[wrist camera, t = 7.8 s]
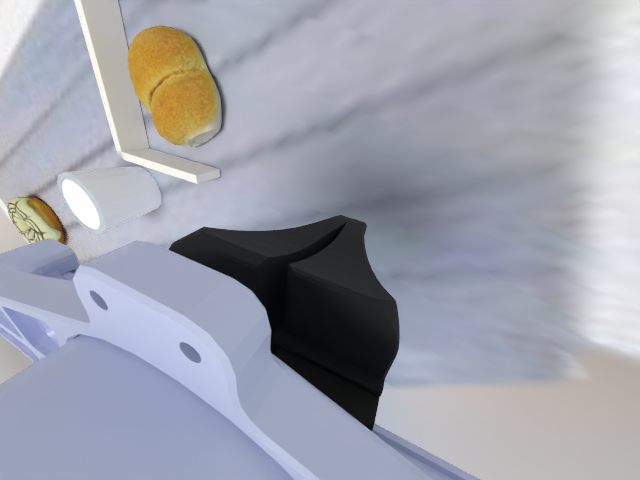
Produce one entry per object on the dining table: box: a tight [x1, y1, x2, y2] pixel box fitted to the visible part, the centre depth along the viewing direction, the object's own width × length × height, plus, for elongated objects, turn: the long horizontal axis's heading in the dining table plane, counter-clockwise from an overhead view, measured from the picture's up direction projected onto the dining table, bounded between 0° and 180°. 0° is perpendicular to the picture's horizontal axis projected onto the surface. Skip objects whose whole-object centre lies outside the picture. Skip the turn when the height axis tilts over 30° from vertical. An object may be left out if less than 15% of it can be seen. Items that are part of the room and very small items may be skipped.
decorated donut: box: [7, 197, 65, 244], centre depth 46 cm, size 10×11×4 cm
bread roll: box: [127, 26, 222, 147], centre depth 21 cm, size 8×9×4 cm
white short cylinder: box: [57, 166, 162, 235], centre depth 28 cm, size 7×7×7 cm
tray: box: [74, 0, 220, 184], centre depth 22 cm, size 15×11×3 cm
